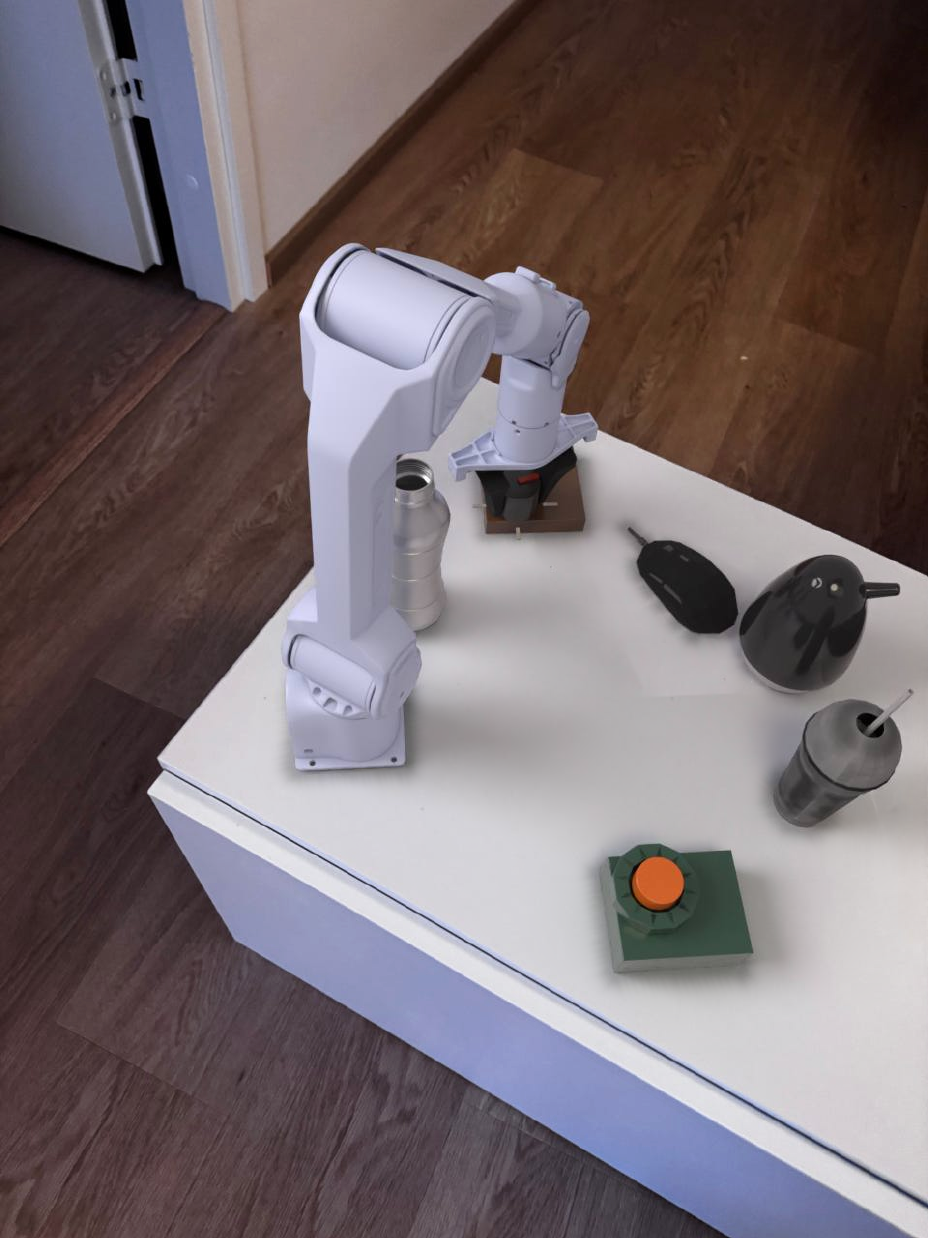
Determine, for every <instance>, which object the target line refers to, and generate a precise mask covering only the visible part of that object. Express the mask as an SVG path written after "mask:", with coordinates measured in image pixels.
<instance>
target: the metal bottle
mask: <svg viewBox="0 0 928 1238" xmlns="http://www.w3.org/2000/svg"><path fill="white" fill-rule="evenodd" d="M451 517H452V516H451V510H450V507H449V504H448V502H447V500H446V498H445V496H444V495H443V494H442V493H441V492H440V491H439V490H438V489H436V482H435V474H434V470H433V468H432V466H431V465H430V464H429V462H426V461H425V460H423V459H420V458H416V457H406V458H405V457H404V458H401V459H398V460H397V463H396V486H395V509H394V531H393V554H392V577H391V600H390V604H391V605H392V607H393V608H394V609H395V610H396V611H397V612H398V614H399V615H400V616H401V617H402V618H403V619H404V620H405V621H406V623H407V624H408V625H409V626H410V627H411V629H412V630H413V631H414V632H419V631H422V630H425V629H427V628H429V627H430V626H432V625H433V624H434V623H436V622H437V620H438V619H439V618H440V616H441V614H442V613H443V609H444V606H445V603H446V598H447V597H446V595H447V594H446V588H445V584H444V580H443V575H442V556H443V550H444V545H445V542H446V539H447V535H448V532H449V529H450V524H451Z"/></svg>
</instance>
